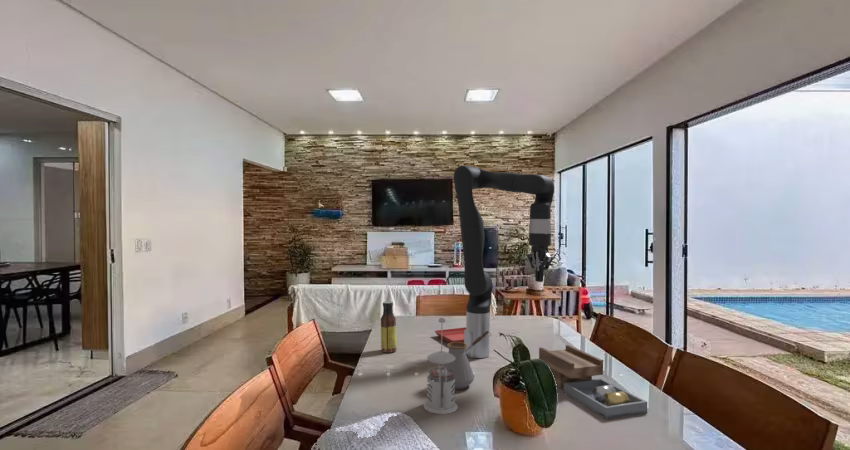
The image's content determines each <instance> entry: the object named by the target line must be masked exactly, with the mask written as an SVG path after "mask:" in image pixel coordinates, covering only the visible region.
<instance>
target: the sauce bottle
mask: <svg viewBox="0 0 850 450" xmlns="http://www.w3.org/2000/svg"><path fill="white" fill-rule="evenodd" d="M393 305H394V304H393V301H383V302H382V307H383V311H382V313H383V314H382V315H381V317H380V348H381V351H382V353H387V354H391V353H395V352H397V347H398V346H397V345H398V344H397V322H396V317H395V315H394V311H393V309H394V308H393Z"/></svg>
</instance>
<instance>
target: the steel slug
mask: <svg viewBox="0 0 850 450" xmlns="http://www.w3.org/2000/svg"><path fill="white" fill-rule="evenodd" d="M614 392H616V390H615V388H614V387H613V386H612V385H604V386H597V387H594V388H593V396H594V398H595V399H596V400H597V401H604V396H605V394H607V393H614Z"/></svg>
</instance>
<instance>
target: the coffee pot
mask: <svg viewBox="0 0 850 450" xmlns="http://www.w3.org/2000/svg"><path fill="white" fill-rule="evenodd" d="M487 334H488V331H486V332H485V333H483V334H482V335H481V336H480V337H478V338H477V339H476V340H475V341H474V342H473V343H472V344H471V345H470V346H468V347H467V345H466V344H465V343H461V342H451V343H449V342H447V344H446V347H448V353H450V354H452V355H453V356H455V358H456V359H455V360H454V361H453V362H451V363H447V364H442V368H445V367H446V368H447V369H451V370H452V371H453V372H454V374H453V376H454V377H455V382H454V384H455V387H454V388H455V390H462V389H466V388H468V387H469V386H470V385H471V384H472V383H473V381H475V374H474V371H473V369H472V366H471V364H470V361H469V359H468V356H467V355H466V354H465V352H467V351H468V350H469V349H470V348H471V347H472V346H474V345H475V344H476V343H478V342H479V341H480V340H481V339H482V338H483V337H485V335H487ZM487 336H488V335H487ZM489 336H492V333H491V332H489ZM466 347H467V348H466ZM465 348H466V349H465ZM447 382H449V381H448V380H447ZM451 389H452V387H451Z"/></svg>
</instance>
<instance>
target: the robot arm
mask: <svg viewBox="0 0 850 450" xmlns="http://www.w3.org/2000/svg"><path fill="white" fill-rule="evenodd" d="M453 185H454V190H455V194H456V200H457V205H458V215H459V216H458V217H459V222H460V223H459V225H460V236H461V244H462V251H463V253H462V254H463V259H464V260H463V261H464V262H463V263H464V276H463V277H464V287H465V289H466V292H468V300H467V302H466V308H465V309H466V316H465V319H466V322H465V323H466V325H465V327H466V329H465V330H464V343H465V344H466V345H467V347H468V346H470V345H471V344H472V343H473V342H474V341H475V340H476V339H477V338H478V337H480V336H481V335H482V334H483V333H485V332H486V331H488V334H487V335H488V336H487V335H485V337H483V338H482V339H481V340H480V341H479V342H478V343H476V344H475V345H474V346H472V347H471V348H470V349H469V350H468V351H467V352H465V354H466V356H467V358H468V357H469V359H470V358H475V359H484V358H488V357H489V356H490V333H491V332H490V331H491V330H490V328H491V327H490V326H491V325H490V321H491V320H490V318H491V312H490V311H491V306H492V305H491V304H492V296H493V295H492V291H493V286H492V285H493V282H492V278H491V276H490V274H489V273H488V272H486V271H485V269H484V263H483V254H484V248H485V237H486V236H485V225H484V224H485V223H484V220H483V217H482V215H481V213H480V211H479V209H478V207H477V205H476V203H475V200H474V195H473V194H474V193H473V190H475V189H476V190H477V189H486V188H487V189H495V190H499V191H503V192H509V193H519V194H521V193H524V194H527V195H528V194H529V195H535V199H534V202H532V203H531V204H530V206H529V222H528V223H529V224H528V246H531V248H530V253H527V254H526V256H527V259H528V261H529V264H530V267H531V269H534V271H535V273H534V274H535V275H534V276H535V277H534V279H535V282H537V283H543V281H544V272H545V271H547V270H548V269H549V267H550V265H551V264H552V262H553V260H554V257H553V256H552V255H550V254H549V252H550V251H549V247H550V246H551V245H552V222H551V218H552V217H551V216H552V215H551V212H552V211H551V208H552V207H551V206H552V203H553V199H554V195H555V184H554V180H553V179H552V178H551V177H550V176H546V175H542V174H537V173H519V172H509V171H508V172H507V171H506V172H505V171H503V172H501V171H500V172H493V171H488V170H485V169H481V168H477V167H476V166H470V165H459V166H458V167H456V169H455V170H454V173H453ZM489 332H490V333H489ZM467 347H466V348H467ZM466 348H465V349H466Z"/></svg>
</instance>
